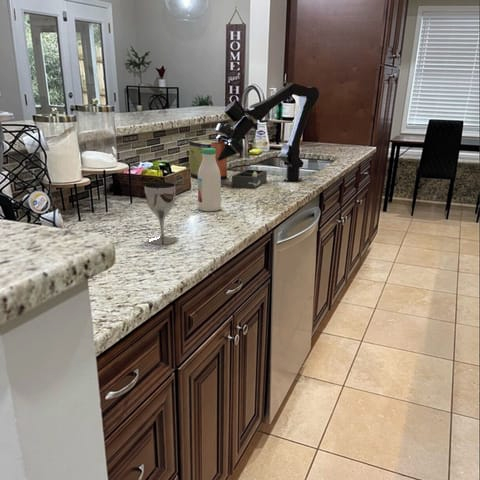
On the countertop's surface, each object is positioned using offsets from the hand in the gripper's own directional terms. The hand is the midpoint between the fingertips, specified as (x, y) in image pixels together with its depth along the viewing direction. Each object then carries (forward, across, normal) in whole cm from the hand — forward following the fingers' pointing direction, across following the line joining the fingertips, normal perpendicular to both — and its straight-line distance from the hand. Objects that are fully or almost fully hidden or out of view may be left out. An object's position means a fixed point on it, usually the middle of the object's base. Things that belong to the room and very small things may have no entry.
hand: (215, 159), depth 207 cm
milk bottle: (+19, +41, -4) cm, 45 cm away
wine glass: (+36, +72, -20) cm, 83 cm away
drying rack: (-3, +2, +18) cm, 18 cm away
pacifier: (-4, +8, +14) cm, 17 cm away
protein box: (+6, -18, +9) cm, 21 cm away
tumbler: (+4, 0, +6) cm, 7 cm away
